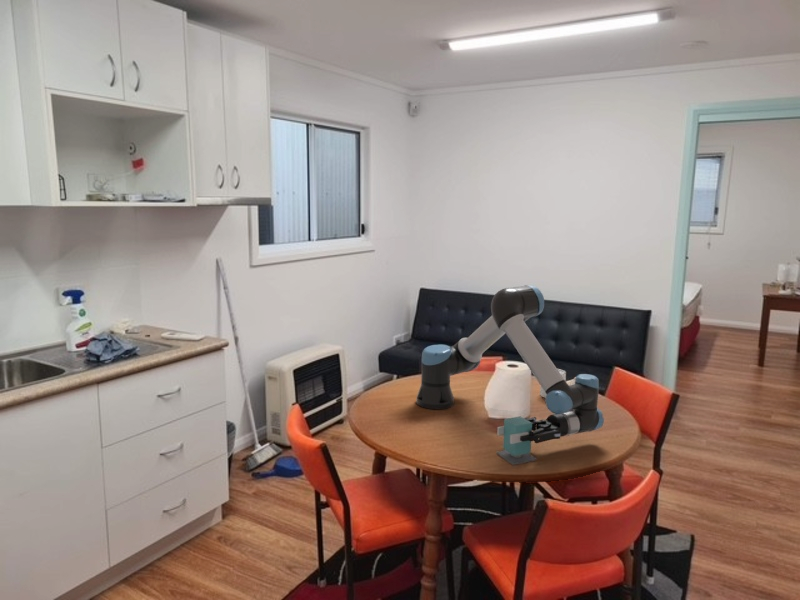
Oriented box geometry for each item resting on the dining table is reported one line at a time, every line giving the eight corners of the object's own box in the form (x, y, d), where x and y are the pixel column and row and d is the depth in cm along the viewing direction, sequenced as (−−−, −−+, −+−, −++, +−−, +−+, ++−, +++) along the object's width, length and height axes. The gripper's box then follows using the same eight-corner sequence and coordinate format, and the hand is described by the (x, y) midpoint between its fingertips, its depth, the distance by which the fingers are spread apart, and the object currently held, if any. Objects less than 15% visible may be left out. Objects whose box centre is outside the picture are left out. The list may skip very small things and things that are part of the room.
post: (512, 465, 177) (514, 442, 176) (496, 453, 185) (497, 431, 184) (536, 460, 181) (537, 437, 180) (519, 449, 189) (520, 427, 188)
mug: (544, 388, 253) (545, 365, 251) (567, 391, 249) (569, 368, 247) (537, 397, 241) (539, 372, 239) (562, 400, 237) (563, 376, 235)
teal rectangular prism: (514, 455, 179) (515, 425, 177) (503, 448, 184) (504, 419, 183) (530, 452, 181) (532, 422, 180) (518, 445, 187) (520, 416, 185)
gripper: (581, 446, 181) (522, 458, 172) (542, 425, 198) (487, 435, 189) (582, 424, 180) (523, 435, 171) (544, 404, 197) (487, 413, 188)
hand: (504, 435), depth 180 cm, fingers closed on teal rectangular prism, 6 cm apart
